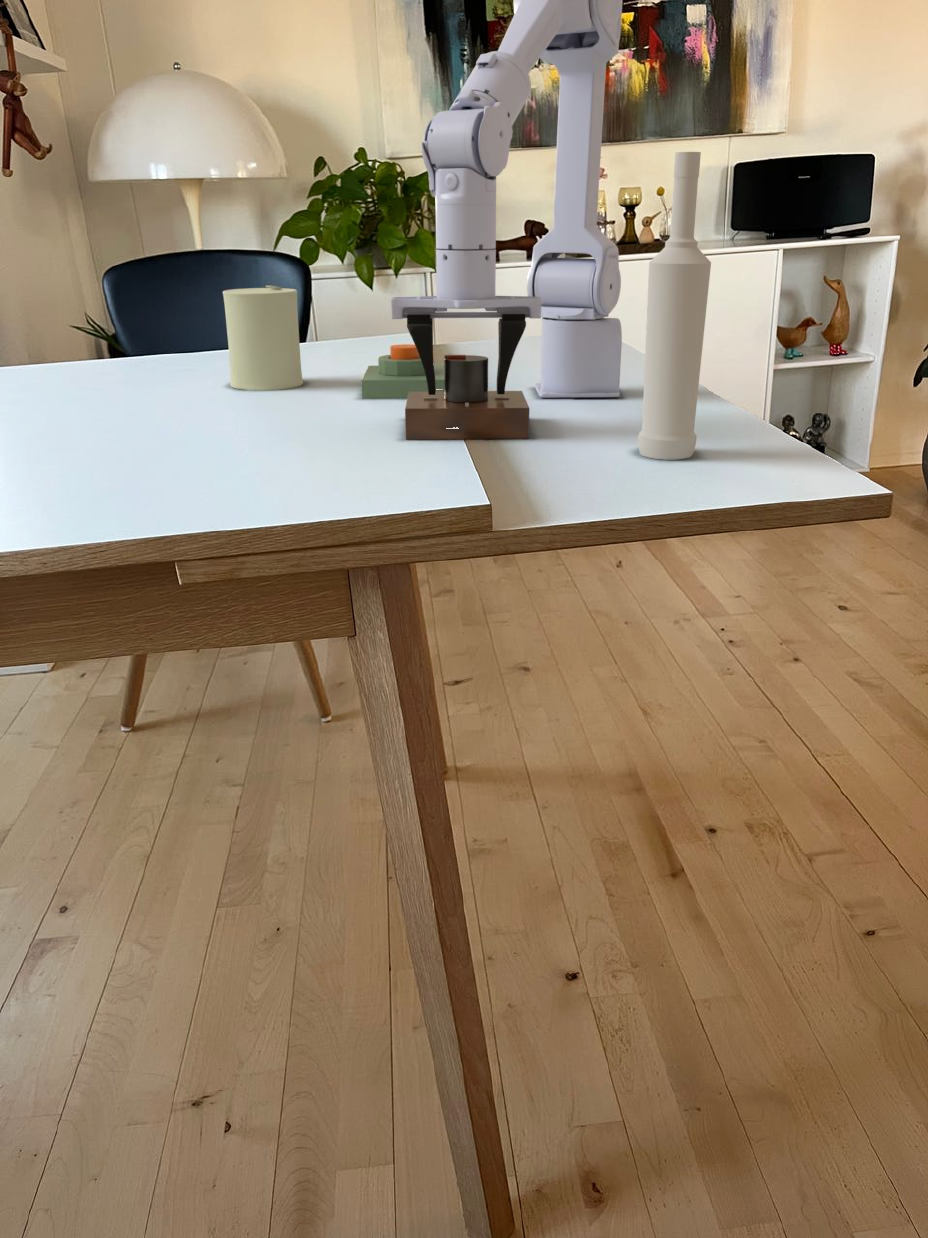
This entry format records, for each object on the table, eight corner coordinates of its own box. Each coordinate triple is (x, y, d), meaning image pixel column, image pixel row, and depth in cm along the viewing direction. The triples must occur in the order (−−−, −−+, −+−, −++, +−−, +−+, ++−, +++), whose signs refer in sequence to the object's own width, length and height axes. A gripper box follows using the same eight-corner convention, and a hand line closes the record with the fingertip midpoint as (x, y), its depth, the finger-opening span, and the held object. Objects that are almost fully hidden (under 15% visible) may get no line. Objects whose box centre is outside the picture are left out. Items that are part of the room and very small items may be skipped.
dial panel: (521, 418, 108) (522, 388, 106) (528, 438, 98) (529, 406, 97) (409, 419, 107) (408, 389, 106) (405, 439, 98) (404, 406, 97)
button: (420, 358, 125) (420, 344, 125) (419, 362, 122) (419, 347, 121) (391, 358, 125) (390, 344, 125) (389, 362, 122) (389, 347, 121)
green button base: (446, 382, 131) (446, 350, 129) (446, 398, 119) (446, 363, 118) (369, 382, 130) (367, 351, 129) (362, 398, 119) (360, 364, 118)
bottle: (683, 462, 89) (707, 149, 79) (628, 456, 91) (646, 151, 82) (703, 451, 93) (729, 152, 83) (650, 445, 95) (669, 154, 86)
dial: (487, 394, 104) (487, 351, 102) (488, 402, 100) (489, 357, 98) (444, 395, 104) (444, 352, 102) (444, 402, 100) (444, 358, 98)
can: (317, 381, 131) (311, 284, 127) (276, 392, 124) (269, 289, 119) (258, 377, 135) (251, 282, 130) (215, 387, 127) (206, 287, 123)
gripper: (387, 251, 93) (392, 400, 98) (545, 250, 93) (541, 399, 98) (391, 248, 99) (395, 388, 104) (538, 247, 99) (535, 387, 104)
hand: (466, 393), depth 101 cm, fingers open, 6 cm apart
